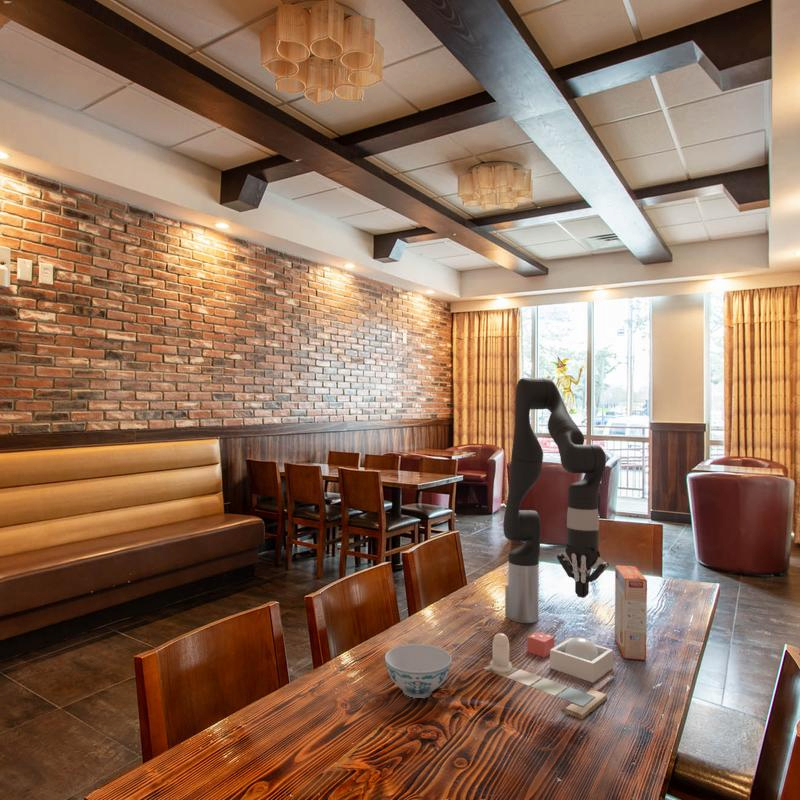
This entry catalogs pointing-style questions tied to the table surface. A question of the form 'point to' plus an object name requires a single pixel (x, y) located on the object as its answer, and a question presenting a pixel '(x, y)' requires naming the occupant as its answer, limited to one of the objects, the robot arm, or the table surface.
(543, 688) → the board
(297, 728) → the table surface
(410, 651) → the chinaware
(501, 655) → the pawn
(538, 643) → the die
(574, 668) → the button housing
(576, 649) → the dome
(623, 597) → the cracker box
